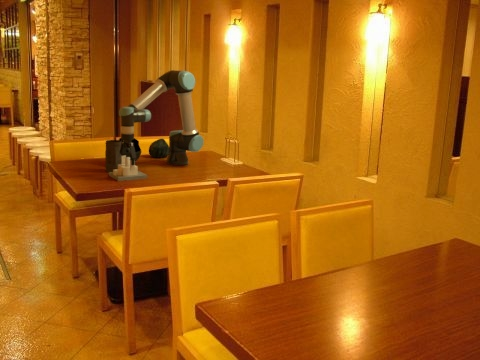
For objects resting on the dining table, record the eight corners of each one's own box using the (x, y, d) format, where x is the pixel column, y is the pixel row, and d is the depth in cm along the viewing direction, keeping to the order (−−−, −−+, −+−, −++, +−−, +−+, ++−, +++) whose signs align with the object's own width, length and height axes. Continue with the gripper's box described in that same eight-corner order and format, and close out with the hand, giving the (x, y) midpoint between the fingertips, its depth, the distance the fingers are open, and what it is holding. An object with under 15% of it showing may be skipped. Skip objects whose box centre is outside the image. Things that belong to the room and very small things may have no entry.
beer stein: (117, 173, 307) (118, 141, 304) (101, 172, 309) (102, 140, 306) (128, 170, 322) (128, 140, 319) (112, 169, 324) (113, 138, 321)
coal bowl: (135, 168, 325) (135, 140, 321) (106, 166, 327) (106, 138, 323) (145, 162, 344) (145, 135, 340) (117, 160, 347) (117, 134, 342)
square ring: (131, 171, 306) (131, 163, 305) (137, 174, 299) (137, 166, 298) (111, 173, 299) (111, 165, 298) (116, 176, 292) (116, 168, 291)
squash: (144, 148, 369) (150, 135, 359) (162, 148, 377) (169, 135, 367) (150, 163, 362) (157, 150, 352) (168, 162, 371) (175, 150, 361)
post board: (136, 173, 312) (136, 154, 309) (147, 178, 299) (147, 158, 297) (108, 175, 302) (108, 156, 299) (118, 181, 289) (118, 161, 287)
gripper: (113, 130, 302) (114, 164, 307) (129, 136, 283) (130, 172, 287) (125, 130, 307) (126, 163, 312) (141, 135, 287) (142, 171, 292)
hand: (128, 168), depth 300 cm, fingers open, 13 cm apart
